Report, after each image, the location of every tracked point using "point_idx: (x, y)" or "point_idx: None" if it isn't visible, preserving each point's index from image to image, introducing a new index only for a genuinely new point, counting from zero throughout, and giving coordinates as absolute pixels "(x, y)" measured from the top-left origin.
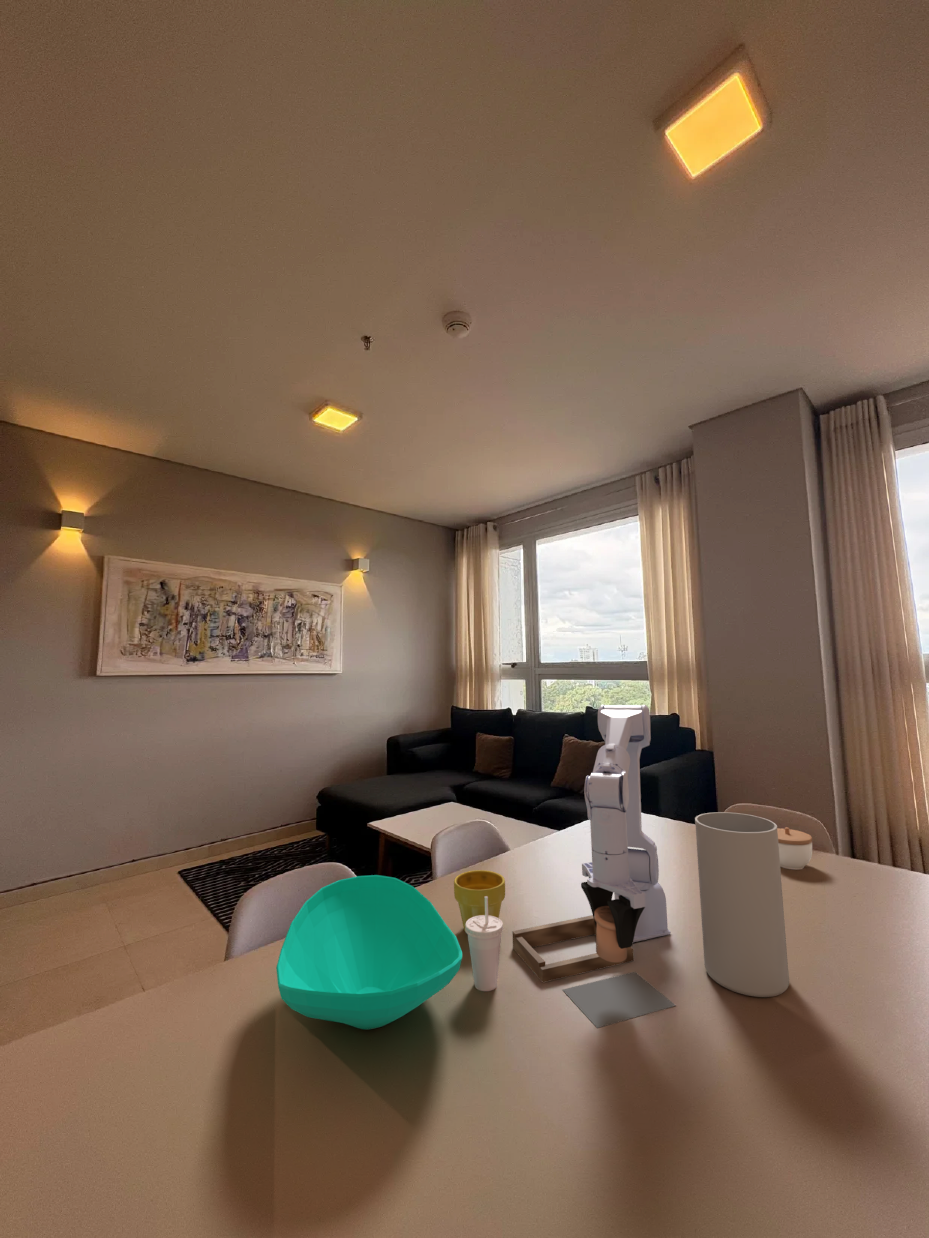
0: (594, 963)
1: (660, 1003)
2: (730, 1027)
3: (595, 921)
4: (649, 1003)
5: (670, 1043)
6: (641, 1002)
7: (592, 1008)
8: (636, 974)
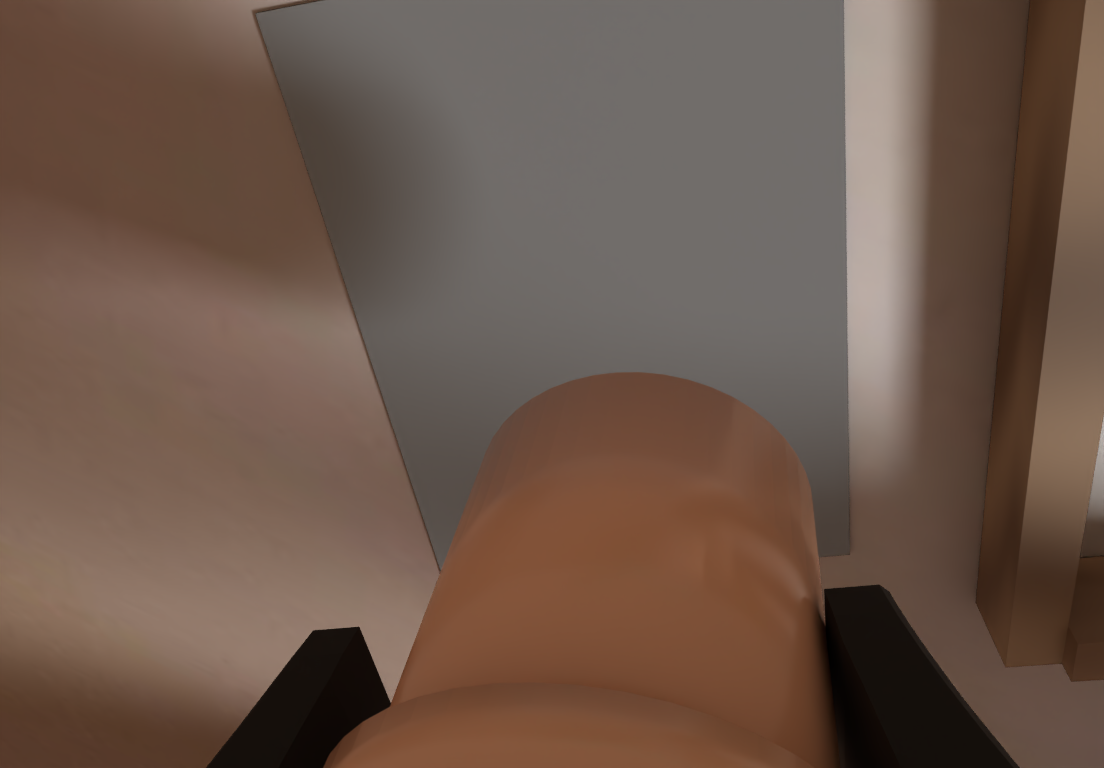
0: (1021, 342)
1: None
2: (252, 700)
3: (890, 663)
4: None
5: (114, 409)
6: None
7: (497, 78)
8: None
